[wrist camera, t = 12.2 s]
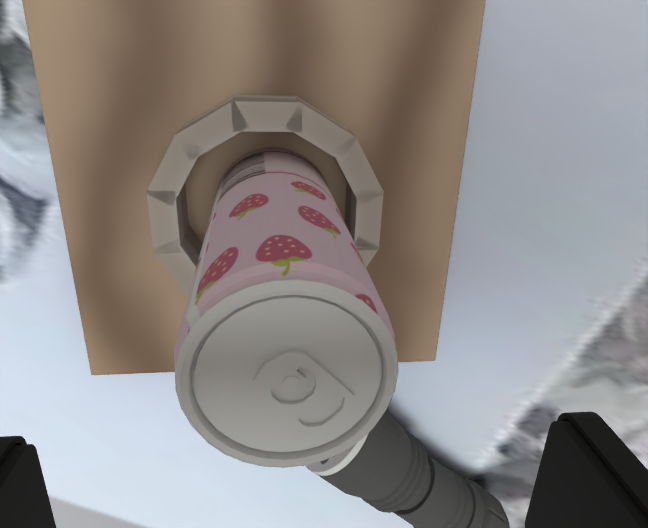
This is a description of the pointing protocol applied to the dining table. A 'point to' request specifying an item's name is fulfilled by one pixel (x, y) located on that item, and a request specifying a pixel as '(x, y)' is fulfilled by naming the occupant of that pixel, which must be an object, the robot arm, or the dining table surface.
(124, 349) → the socket board
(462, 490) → the flashlight
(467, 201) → the dining table surface
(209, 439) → the beverage can
